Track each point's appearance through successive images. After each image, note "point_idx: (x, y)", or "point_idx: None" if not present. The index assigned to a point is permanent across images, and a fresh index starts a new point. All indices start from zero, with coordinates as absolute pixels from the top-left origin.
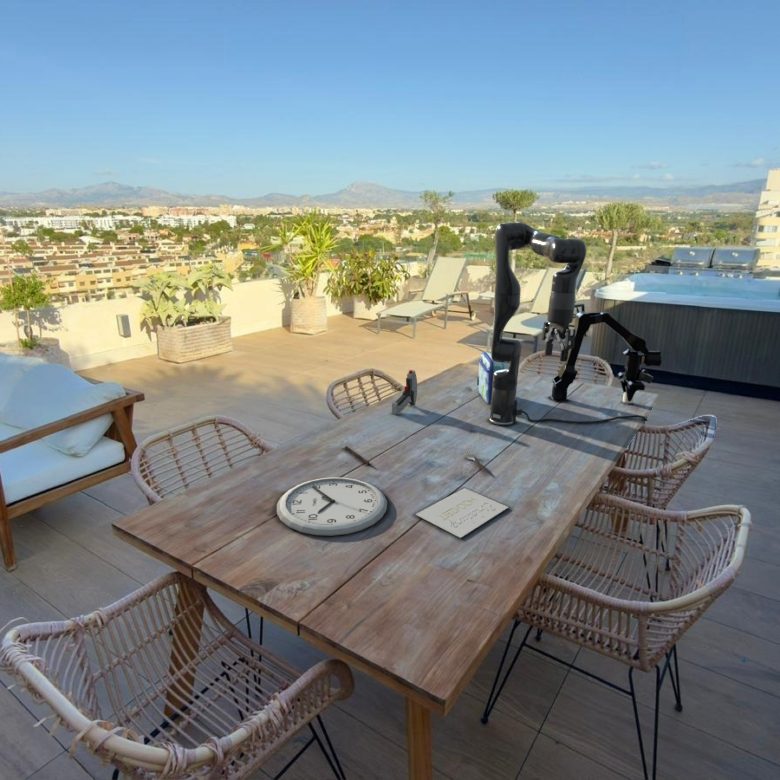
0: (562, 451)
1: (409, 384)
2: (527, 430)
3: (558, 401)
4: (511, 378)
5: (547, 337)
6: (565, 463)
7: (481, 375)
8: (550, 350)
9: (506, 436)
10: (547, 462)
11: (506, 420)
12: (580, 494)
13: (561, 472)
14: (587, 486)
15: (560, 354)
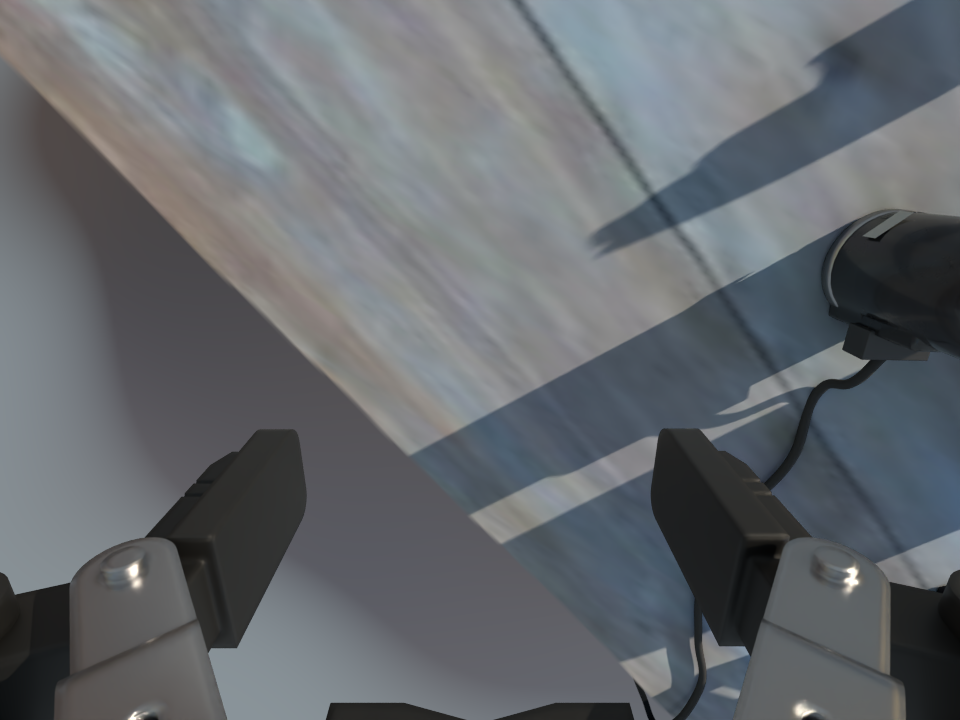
0: (514, 345)
1: None
2: (740, 325)
3: (938, 592)
4: None
5: (792, 648)
6: (417, 297)
7: None
8: (678, 526)
9: (720, 202)
10: (438, 235)
11: (841, 265)
12: (180, 206)
13: (349, 239)
14: (235, 266)
15: (250, 477)
